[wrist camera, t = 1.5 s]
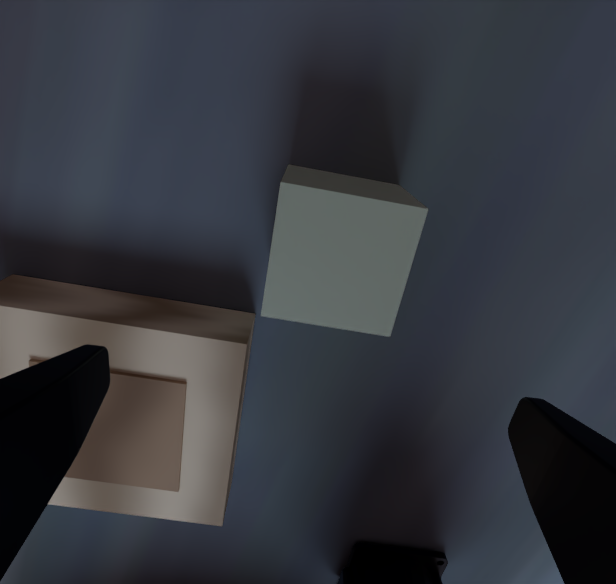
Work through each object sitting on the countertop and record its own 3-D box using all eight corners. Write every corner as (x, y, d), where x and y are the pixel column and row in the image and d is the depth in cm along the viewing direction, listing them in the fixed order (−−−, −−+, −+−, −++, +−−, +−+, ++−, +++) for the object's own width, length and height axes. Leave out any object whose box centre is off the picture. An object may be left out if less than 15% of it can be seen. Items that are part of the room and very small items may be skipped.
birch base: (255, 313, 21) (246, 346, 18) (231, 481, 25) (221, 529, 23) (12, 274, 20) (-39, 302, 17) (35, 455, 25) (-3, 501, 22)
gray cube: (399, 184, 18) (428, 208, 14) (372, 285, 20) (389, 336, 16) (288, 164, 18) (280, 181, 13) (272, 268, 20) (260, 315, 15)
